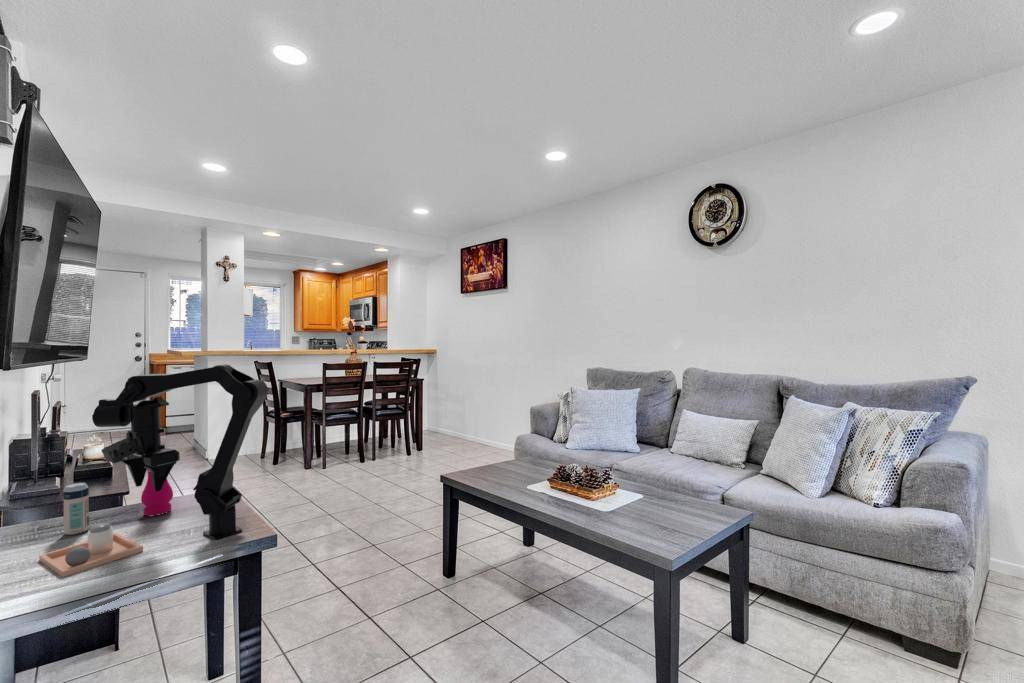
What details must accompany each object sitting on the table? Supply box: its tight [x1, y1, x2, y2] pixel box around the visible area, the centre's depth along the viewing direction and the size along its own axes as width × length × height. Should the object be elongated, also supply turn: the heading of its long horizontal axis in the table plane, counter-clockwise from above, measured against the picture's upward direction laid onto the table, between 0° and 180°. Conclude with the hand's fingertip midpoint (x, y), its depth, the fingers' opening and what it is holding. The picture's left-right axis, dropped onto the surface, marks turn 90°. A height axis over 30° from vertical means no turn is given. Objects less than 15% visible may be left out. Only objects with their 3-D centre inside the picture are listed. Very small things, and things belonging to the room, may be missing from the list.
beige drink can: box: [62, 482, 90, 536], centre depth 123 cm, size 5×5×12 cm
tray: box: [38, 532, 144, 578], centre depth 109 cm, size 14×14×2 cm
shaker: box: [87, 522, 114, 555], centre depth 112 cm, size 4×4×6 cm
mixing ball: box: [65, 546, 90, 567], centre depth 104 cm, size 4×4×4 cm
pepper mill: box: [140, 447, 174, 517], centre depth 136 cm, size 7×7×20 cm
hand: (148, 488), depth 121 cm, fingers open, 9 cm apart
